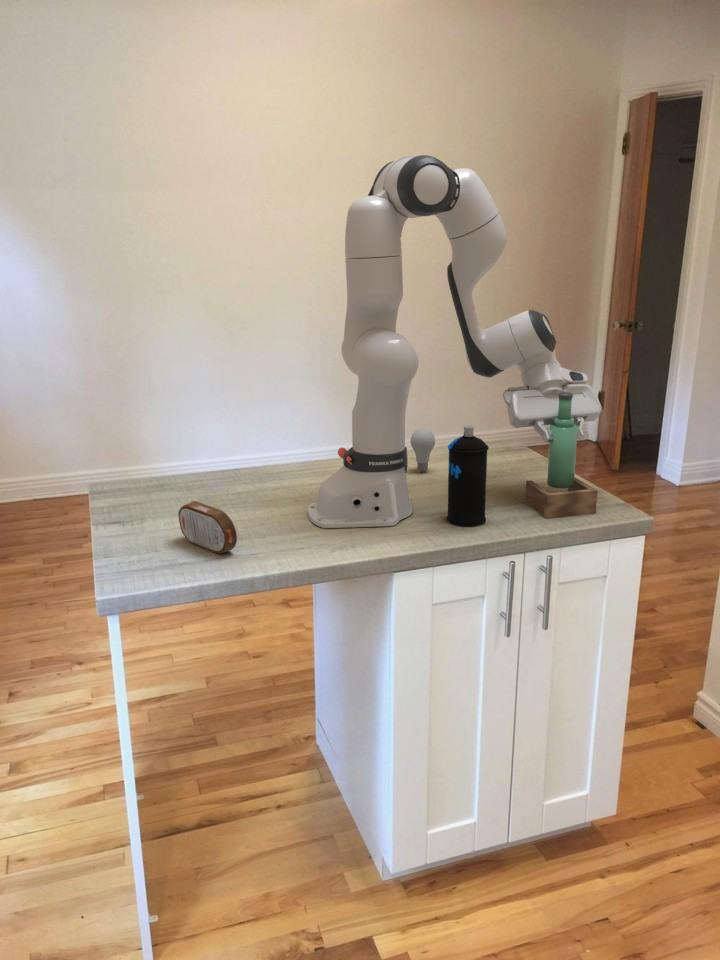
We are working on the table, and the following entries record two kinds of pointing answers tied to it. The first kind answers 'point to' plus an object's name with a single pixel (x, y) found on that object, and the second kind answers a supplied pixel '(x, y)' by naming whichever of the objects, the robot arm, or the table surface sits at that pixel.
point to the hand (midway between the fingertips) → (564, 439)
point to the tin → (207, 527)
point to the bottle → (562, 445)
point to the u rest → (562, 500)
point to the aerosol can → (467, 480)
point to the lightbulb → (422, 447)
